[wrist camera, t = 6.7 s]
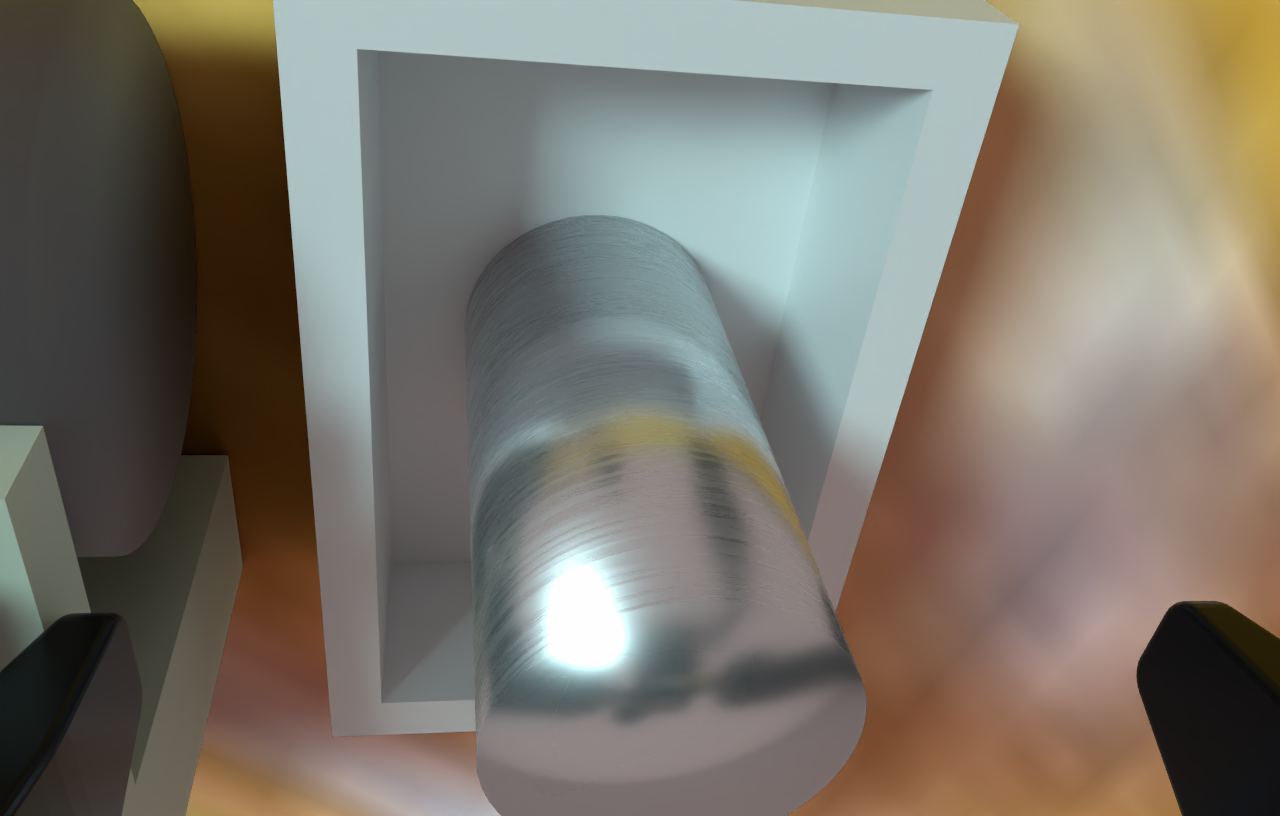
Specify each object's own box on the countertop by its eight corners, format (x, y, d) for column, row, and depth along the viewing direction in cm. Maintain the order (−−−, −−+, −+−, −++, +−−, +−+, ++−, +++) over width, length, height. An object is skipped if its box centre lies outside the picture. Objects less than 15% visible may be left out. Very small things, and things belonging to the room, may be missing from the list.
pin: (730, 221, 12) (911, 602, 8) (692, 427, 14) (819, 844, 9) (468, 208, 12) (484, 614, 7) (461, 425, 13) (469, 869, 9)
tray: (900, -59, 11) (1019, 24, 9) (751, 559, 16) (801, 718, 14) (313, -116, 10) (269, -39, 8) (351, 564, 15) (332, 736, 13)
